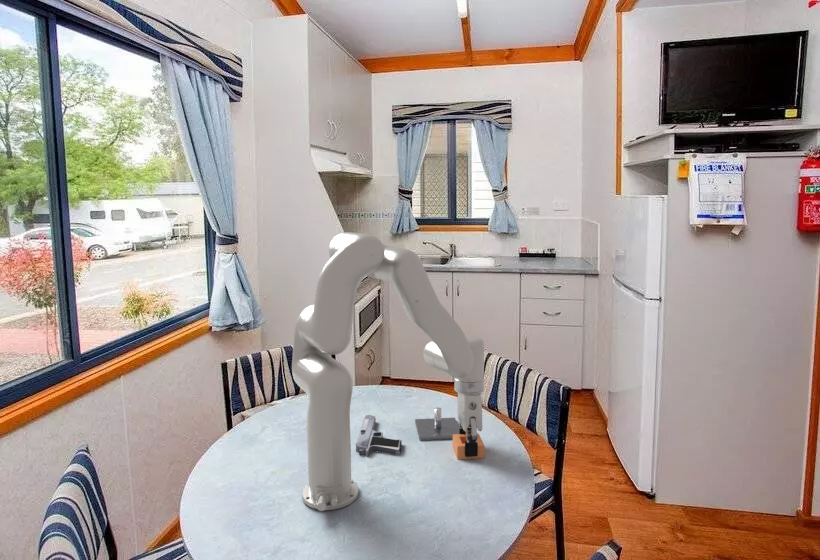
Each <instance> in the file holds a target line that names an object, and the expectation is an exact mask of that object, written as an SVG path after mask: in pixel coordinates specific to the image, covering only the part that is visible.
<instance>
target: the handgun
mask: <svg viewBox="0 0 820 560" xmlns="http://www.w3.org/2000/svg"><path fill="white" fill-rule="evenodd" d="M376 423H377V421H376V416H374V415H372V414H365V415H364V419H363V422H362V425H361V428H360V434H359V435H358V438H357V441H356V443H355V452H356V453H358V454H359V456H362V455H365V457H367V458H368V457H369V456H370V453H373V452H372V451H374V452H376V451H378V452H377V453H382V452H383V454H387V453H388V454H389V455H394V456H400V453H401V452H402V451H401V450H402V444H403V443H402V440H401V439H392V438H387V437H386V438H385V437H384V431H376V430H375V426H376ZM388 454H387V455H388Z"/></svg>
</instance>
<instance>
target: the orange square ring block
mask: <svg viewBox="0 0 820 560" xmlns="http://www.w3.org/2000/svg"><path fill="white" fill-rule="evenodd" d="M470 435H471V434H469V436H470ZM477 439H478V455H477V456H474V457H466V456H465V441H466V434H453V439H452V448H453V451H455V452H454V454H455V457H456V459H457V460H468V459H470V460H471V458H473V459H484V458H485V443H484V441H483V440H482V437H481V436H480V434H479V432H477ZM467 458H468V459H467Z"/></svg>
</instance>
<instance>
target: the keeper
mask: <svg viewBox="0 0 820 560" xmlns="http://www.w3.org/2000/svg"><path fill="white" fill-rule="evenodd" d="M433 412H434V413H433V415H434V417H433V418H416V419H414V423H415V429H416V432H417V435H418V436H419V437H418V436H417V437H418V439H419V440H420V441H436V440H437V441H439V440H438V439H442V440H453V434H459V428H460V425H459V424H458V422H457V420H456V417H443V418H442V408H441V407H438V406H437V407H435V408H434V411H433Z"/></svg>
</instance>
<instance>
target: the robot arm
mask: <svg viewBox="0 0 820 560" xmlns="http://www.w3.org/2000/svg"><path fill="white" fill-rule="evenodd" d="M328 254H329V257H330V259H329V260H328V261H327V262H326V263H325V265H324V266H323V268H322V269H321V271H320V273H319V276H318V279H317V281H316V289H315V294H314V295H315V296H314V302H313V304H311V305H308V306H307V307H305V308H304V309H303V310H302V311H301V312H300V314H299V315H298V317H297V318H296V322H295V327H294V334H293V335H294V336H293V344H292V345H293V347H292V358H291V359H292V361H291V371H292V372H291V373H292V378H293V380H294V382H295V383H296V384H297V386H298V387H299V388H300V389H301V390H302V391H304V393H306V395H307V396H308V406H307V411H306V419H305V420H306V442H307V467H308V468H307V470H308V471H307V472H308V483H307V484H306V485H305V486H304V487H303V489H302V491H301V498H302V502H303V503H304V504H305V505H306V506H308V507H310V508H311V509H314V510H318V511H320V512H323V511H333V510H334V511H335V510H339V509H342V508H345V507H347V506H349V505H350V504H352V503H353V502H355V500H356V499H357V498H358V497H359V485H358V484H357V483H356V482H355V481H354V480H353V479H352V453H351V452H352V450H351V449H352V447H351V446H352V444H351V403H352V396H353V387H354V385H353V384H354V383H353V379H352V375H351V373H350V371H349V369H348V368H346V366H345V365H343V364H342V362H340V361H338V360H336V359H335V358H333V357H332V355H335V356H336V355H339V354H342V353H343V352H344V351H345V350H347V348H348V347H349V345H350V344H351V339H352V332H353V319H354V310H355V307H354V306H355V301H356V294H357V290H358V288H359V285H360V284H361V282H362V281H363V280H364V279H365V278H366V277H369V278H373V279H377V280H381V281H385V282H389V283H390V284H391V286H392V289H393V291H394V292H395V294H396V296H397V298H398V301H399V303H400V305H401V306H402V309H403V311H404V314H405V315H406V317H407V318H408V319H409V320H410V322H411V323H412V324H414V326H416V328H418V329H420V330H421V332H423V333H424V334H426V335H427V337H429V338H430V339H431V341H429V342H428V343H426V345H425V346H424V348H423V351H422V355H423V360H424V361H425V363H427V364H428V366H430V367H432V368H434V369H436V370H438V371H440V372H443V373H445V374H447V375H449V376H450V377H452V378H454V384H453V386H454V389H453V390H454V391H455V392H456V393H457V417H458V421H459V434H466V441H465V456H466V457H474V456H477V455H478V439H477V433H478V432H482V431H483V404H482V403H483V402H482V393H483V392H484V391H485V390H484V388H485V387H484V383H485V379H484V378H485V375H484V373H485V343H484V340H483V339H482V338H481V337H478V336H473V335H465V332H464V331H463V330H462V328H461V326H460V325H459V324H458V322H456V320H455V319H454V317H452V315H451V314H450V313H449V311H448V310H447V309H446V307H444V306H443V305H442V303H441V302H440V300H439V297H438V295H437V293H436V291H435V289H434V286H433V285H432V282H431V279H429V276H428V274H427V271H426V269H425V266H424V265H423V263H422V260H421V259H420V257H419V256H418V254H417V253H416V252H415V251H412V250H410V249H407V248H401V247H395V246H389V245H386V244H384V243H383V241H381V240H380V238H378V237H377V236H374V235H372V234H367V233H362V232H349V231H345V232H341V233H338V234H337V235H335V236H334V237H333V238H332V240H331V241H330V243H329V246H328ZM469 434H471V435H470V436H469Z"/></svg>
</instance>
